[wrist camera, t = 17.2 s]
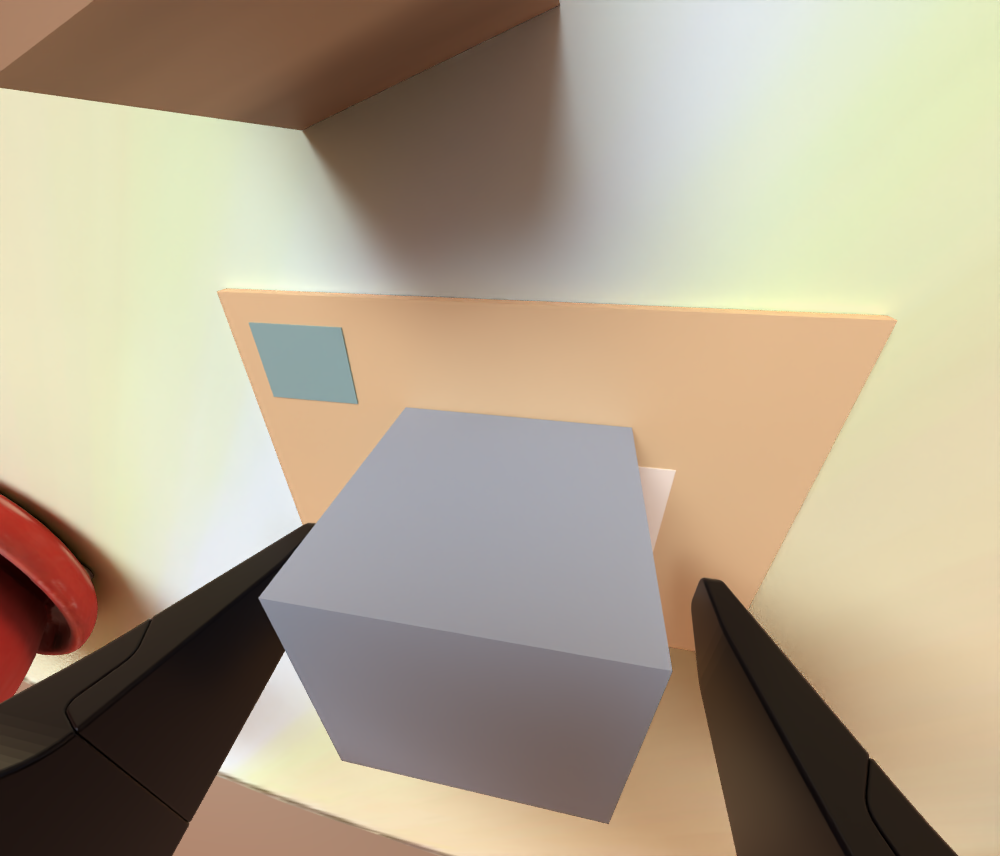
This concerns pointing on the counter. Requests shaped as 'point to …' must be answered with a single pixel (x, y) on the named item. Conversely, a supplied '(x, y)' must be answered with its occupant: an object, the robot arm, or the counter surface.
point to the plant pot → (38, 596)
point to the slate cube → (484, 609)
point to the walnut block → (240, 51)
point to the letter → (576, 402)
